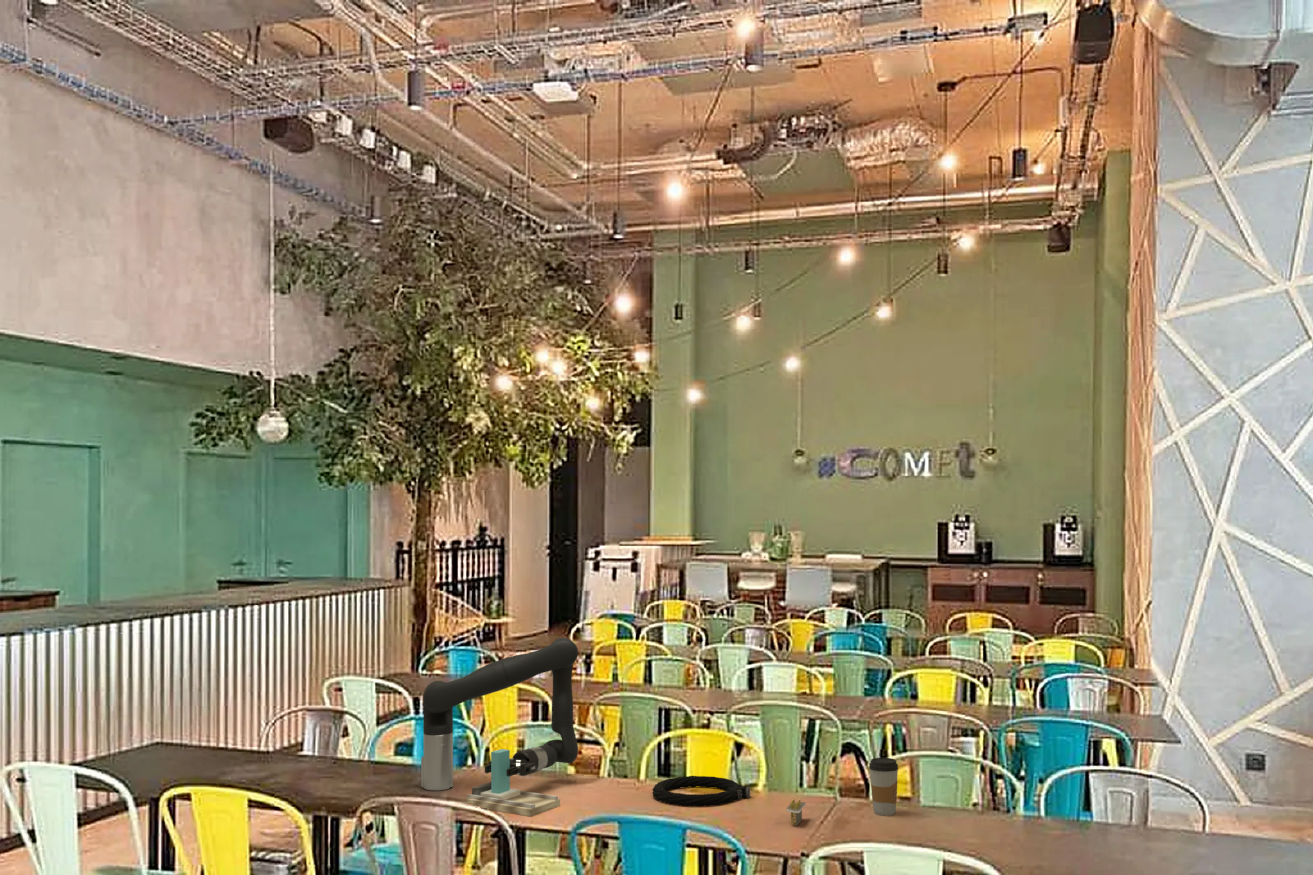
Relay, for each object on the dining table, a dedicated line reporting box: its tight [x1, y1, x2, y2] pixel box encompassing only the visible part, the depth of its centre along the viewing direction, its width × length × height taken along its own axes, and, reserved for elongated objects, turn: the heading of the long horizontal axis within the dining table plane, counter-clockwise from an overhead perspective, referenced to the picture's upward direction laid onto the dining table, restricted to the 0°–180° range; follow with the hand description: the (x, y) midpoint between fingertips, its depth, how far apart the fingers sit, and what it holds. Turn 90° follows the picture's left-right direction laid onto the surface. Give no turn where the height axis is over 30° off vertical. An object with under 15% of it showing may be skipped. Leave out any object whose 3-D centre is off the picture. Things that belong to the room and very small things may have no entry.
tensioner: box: [481, 748, 521, 800], centre depth 371 cm, size 8×9×14 cm
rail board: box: [464, 781, 561, 817], centre depth 368 cm, size 25×14×5 cm, turn 58°
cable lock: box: [651, 775, 751, 807], centre depth 377 cm, size 28×4×30 cm
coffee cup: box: [868, 757, 899, 817], centre depth 355 cm, size 8×8×15 cm
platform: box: [786, 798, 807, 828], centre depth 346 cm, size 12×18×7 cm, turn 162°
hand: (496, 771), depth 369 cm, fingers open, 8 cm apart
